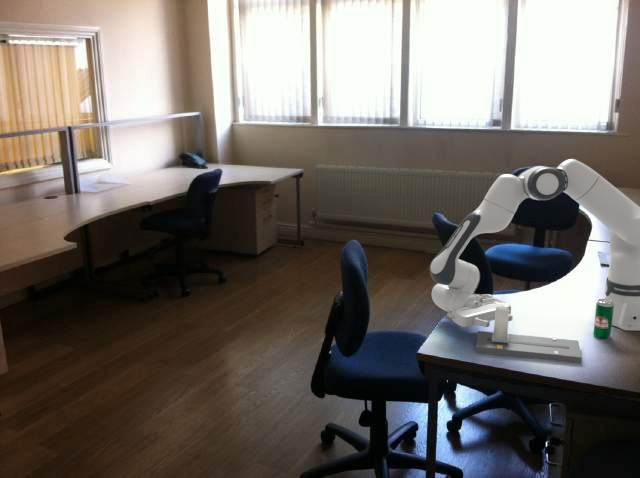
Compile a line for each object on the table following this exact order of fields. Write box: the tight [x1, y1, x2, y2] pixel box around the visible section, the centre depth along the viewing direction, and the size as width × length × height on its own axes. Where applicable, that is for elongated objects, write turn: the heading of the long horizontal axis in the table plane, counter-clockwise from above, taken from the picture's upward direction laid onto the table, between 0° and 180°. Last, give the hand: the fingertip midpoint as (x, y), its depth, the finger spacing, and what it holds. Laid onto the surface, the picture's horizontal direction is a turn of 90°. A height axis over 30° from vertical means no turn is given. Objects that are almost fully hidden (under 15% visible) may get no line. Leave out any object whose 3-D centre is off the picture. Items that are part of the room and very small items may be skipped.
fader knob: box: [492, 306, 510, 343], centre depth 195 cm, size 5×5×10 cm
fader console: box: [475, 330, 583, 365], centre depth 195 cm, size 30×12×2 cm, turn 73°
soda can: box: [593, 298, 614, 340], centre depth 202 cm, size 5×5×12 cm
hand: (499, 321), depth 195 cm, fingers open, 8 cm apart
